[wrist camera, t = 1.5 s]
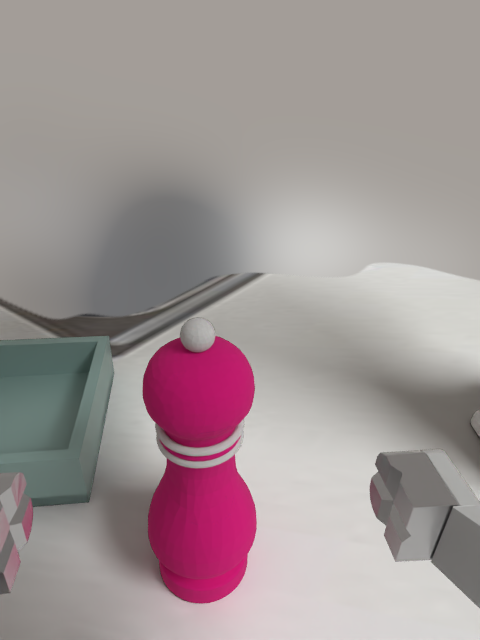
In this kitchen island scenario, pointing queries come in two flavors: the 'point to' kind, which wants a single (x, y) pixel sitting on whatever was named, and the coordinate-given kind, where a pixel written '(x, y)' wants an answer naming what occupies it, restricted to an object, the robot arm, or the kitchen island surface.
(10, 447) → the tote
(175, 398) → the pepper mill
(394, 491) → the robot arm
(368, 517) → the kitchen island surface
